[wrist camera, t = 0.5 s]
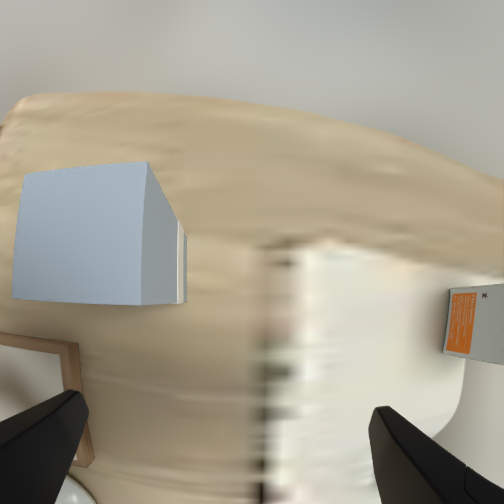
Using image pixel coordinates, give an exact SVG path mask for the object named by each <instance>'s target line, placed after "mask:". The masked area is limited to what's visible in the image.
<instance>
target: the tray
mask: <svg viewBox="0 0 504 504" xmlns="http://www.w3.org/2000/svg"><path fill="white" fill-rule="evenodd" d="M68 389H73V390H77V391H80V392H81V393H82V395H83V390H82V381H81V372H80V361H79V349H78V343H75V342H66V341H57V340H49V339H41V338H33V337H27V336H20V335H13V334H7V333H2V332H0V422H1V421H3V420H5V419H7V418H9V417H12V416H14V415H16V414H18V413H20V412H22V411H24V410H27V409H29V408H31V407H33V406H35V405H37V404H39V403H41V402H43V401H45V400H48V399H50V398H52V397H54V396H56V395H58V394H60V393H62V392H64V391H66V390H68ZM94 459H95V457H94V453H93V448H92V444H91V439H90V434H89V428H88V423H87V422H86V425H85V428H84V431H83V434H82V437H81V440H80V443H79V446H78V449H77V452H76V454H75V457H74V459H73V461H72V464H71V465H75V466H80V467H84V468H88V467H89V465H90V464H91V463H92V462H93V460H94Z"/></svg>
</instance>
